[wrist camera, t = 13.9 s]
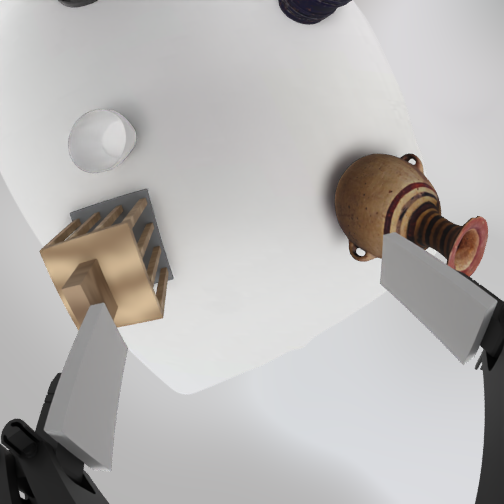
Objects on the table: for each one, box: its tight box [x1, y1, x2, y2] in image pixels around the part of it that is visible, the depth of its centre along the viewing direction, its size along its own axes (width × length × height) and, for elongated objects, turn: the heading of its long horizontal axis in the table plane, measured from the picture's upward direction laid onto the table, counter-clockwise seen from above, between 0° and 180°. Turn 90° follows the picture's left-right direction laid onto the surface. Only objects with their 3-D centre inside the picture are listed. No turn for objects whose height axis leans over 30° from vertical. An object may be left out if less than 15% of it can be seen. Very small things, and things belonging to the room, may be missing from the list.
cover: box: [40, 198, 169, 330], centre depth 38 cm, size 15×15×22 cm
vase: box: [335, 154, 488, 277], centre depth 40 cm, size 21×18×30 cm
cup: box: [68, 109, 136, 173], centre depth 35 cm, size 9×9×12 cm
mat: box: [70, 189, 173, 284], centre depth 48 cm, size 18×16×1 cm
